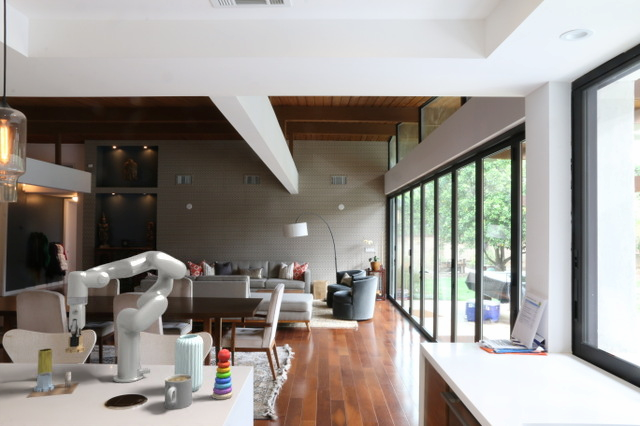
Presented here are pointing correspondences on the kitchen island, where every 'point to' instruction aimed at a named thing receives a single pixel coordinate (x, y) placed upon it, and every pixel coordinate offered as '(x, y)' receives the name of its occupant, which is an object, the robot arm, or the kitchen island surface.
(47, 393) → the board
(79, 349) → the oak gear
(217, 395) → the stacking toy
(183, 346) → the vase
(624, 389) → the kitchen island surface
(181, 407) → the coffee mug
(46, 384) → the gear
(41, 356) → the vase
